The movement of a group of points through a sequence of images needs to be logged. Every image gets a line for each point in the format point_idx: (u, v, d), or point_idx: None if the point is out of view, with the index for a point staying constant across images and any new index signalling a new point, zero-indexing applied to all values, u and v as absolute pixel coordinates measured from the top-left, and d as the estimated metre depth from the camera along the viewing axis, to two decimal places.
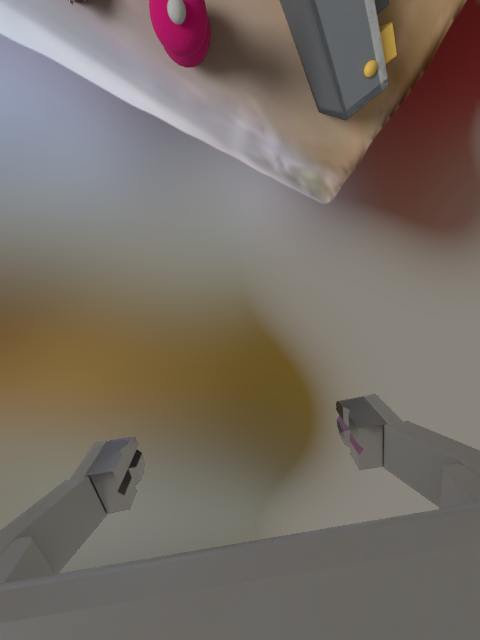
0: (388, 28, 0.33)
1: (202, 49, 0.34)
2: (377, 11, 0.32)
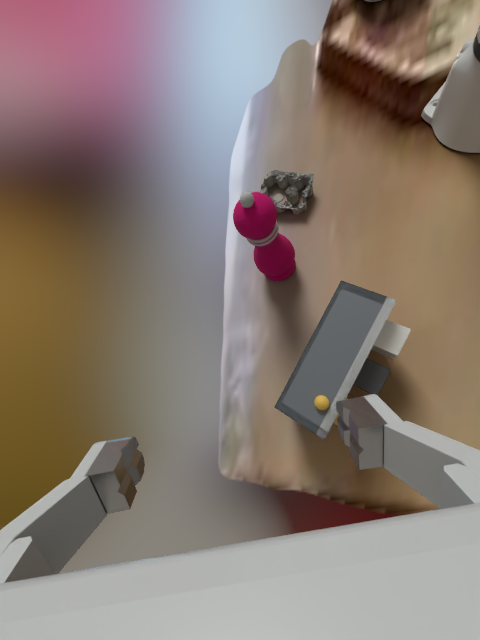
0: None
1: (266, 265, 0.41)
2: (365, 387, 0.30)
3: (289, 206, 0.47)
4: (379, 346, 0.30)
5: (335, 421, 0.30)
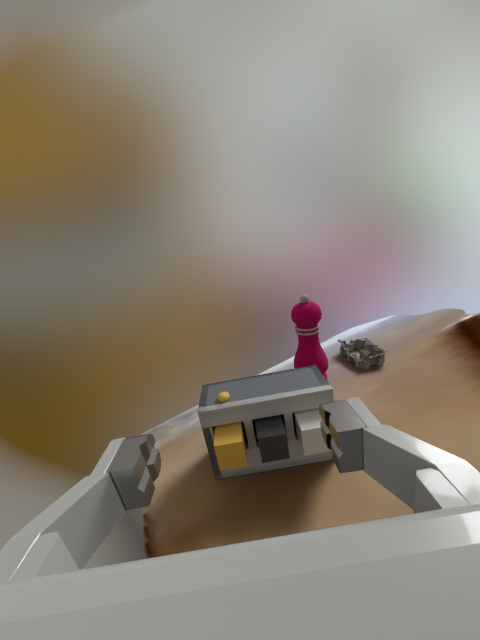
0: (240, 438, 0.30)
1: (297, 358, 0.52)
2: (258, 429, 0.31)
3: (354, 357, 0.57)
4: (297, 418, 0.32)
5: (217, 429, 0.33)
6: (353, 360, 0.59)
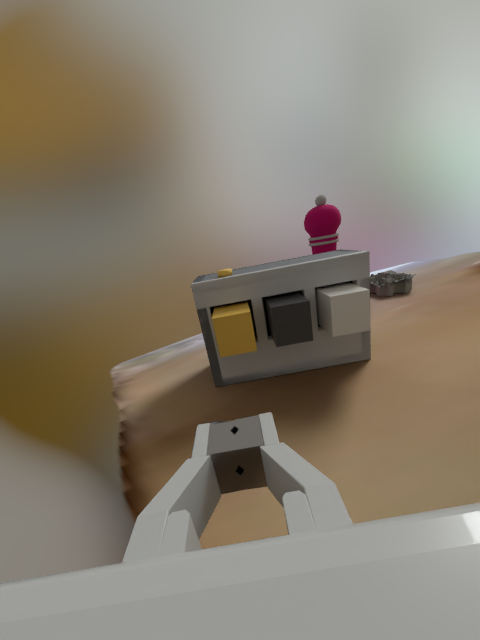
0: (247, 310, 0.23)
1: None
2: (270, 303, 0.24)
3: None
4: (322, 292, 0.24)
5: (216, 310, 0.25)
6: (374, 290, 0.51)
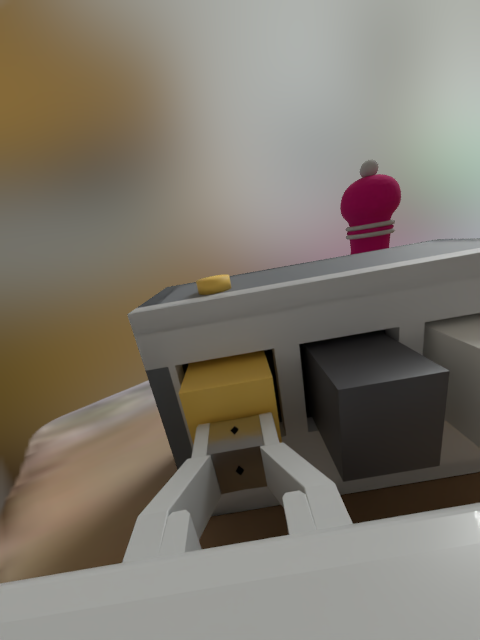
0: (263, 371, 0.10)
1: None
2: (327, 366, 0.09)
3: None
4: (453, 336, 0.10)
5: None
6: None
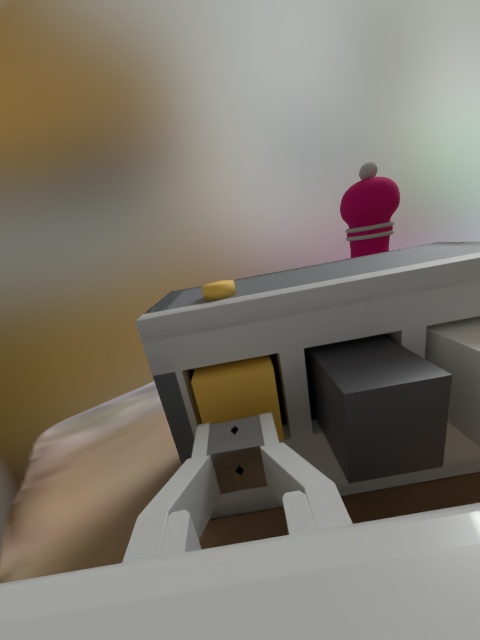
0: (265, 362, 0.11)
1: None
2: (332, 370, 0.09)
3: None
4: (454, 339, 0.10)
5: None
6: None
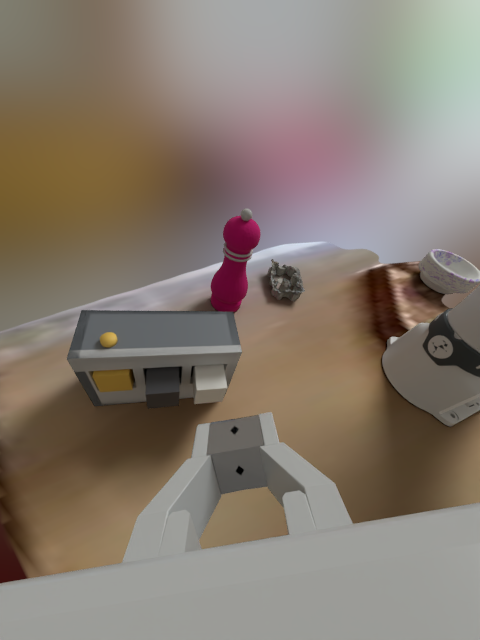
0: (126, 370, 0.28)
1: (216, 279, 0.45)
2: (148, 381, 0.27)
3: (274, 283, 0.55)
4: (196, 373, 0.29)
5: None
6: (273, 285, 0.58)
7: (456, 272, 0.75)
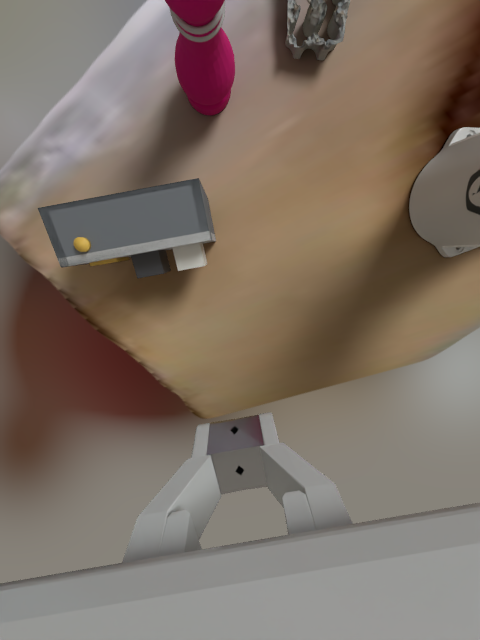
0: None
1: (180, 66, 0.28)
2: (135, 266, 0.32)
3: (291, 18, 0.30)
4: (174, 254, 0.32)
5: None
6: None
7: None
